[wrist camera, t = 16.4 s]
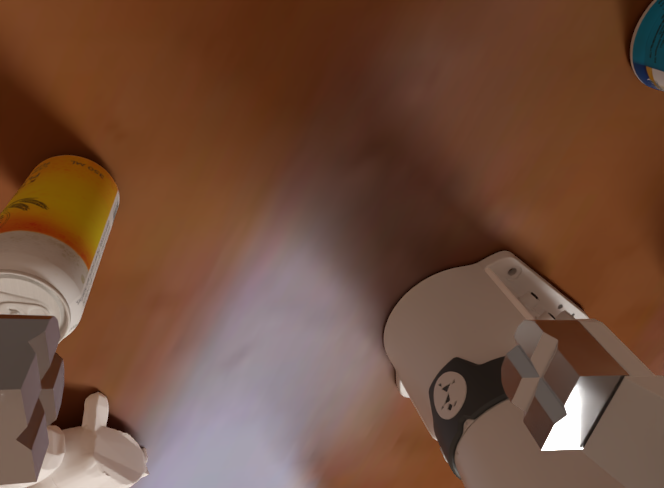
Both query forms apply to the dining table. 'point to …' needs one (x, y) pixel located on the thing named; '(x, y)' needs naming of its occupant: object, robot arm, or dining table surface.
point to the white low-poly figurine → (90, 454)
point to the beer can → (55, 239)
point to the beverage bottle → (649, 46)
